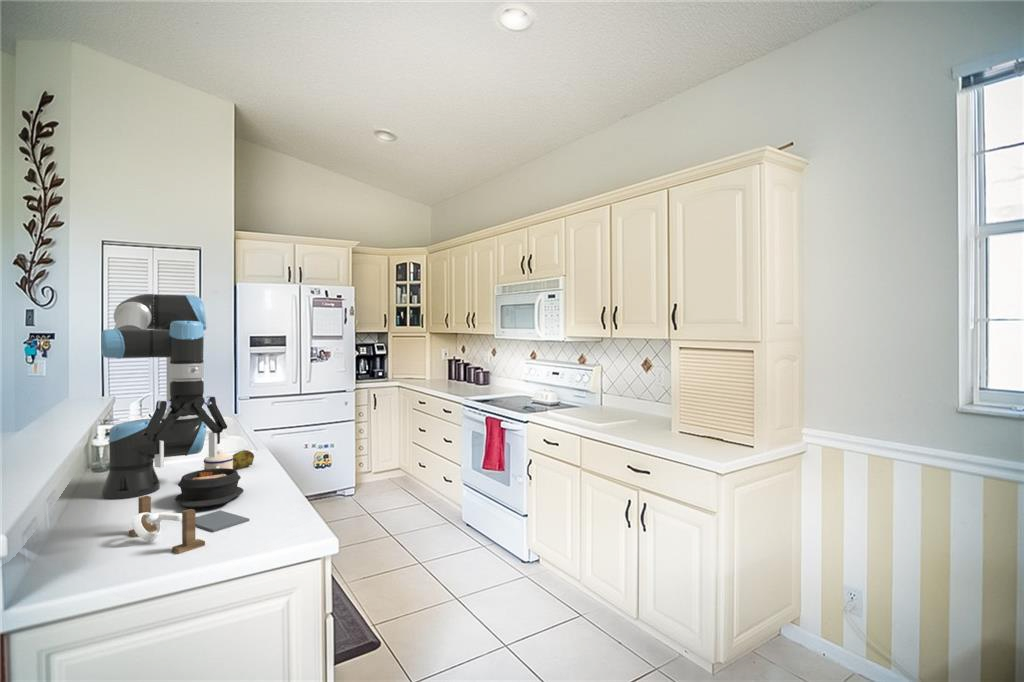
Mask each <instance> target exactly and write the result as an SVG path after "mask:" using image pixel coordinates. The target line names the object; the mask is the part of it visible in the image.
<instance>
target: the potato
mask: <svg viewBox="0 0 1024 682" xmlns="http://www.w3.org/2000/svg"><path fill="white" fill-rule="evenodd" d="M232 456H233V458H234V459H233V469H234V470H237V471H238V470H242V469H244V468H246V467H249V466H252V465H253V462H254V459H255V454H254V453H253V452H252V451H250V450H245V449H243V450H240V451H238V452H236V453H234V454H232Z"/></svg>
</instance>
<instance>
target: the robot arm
mask: <svg viewBox="0 0 1024 682" xmlns="http://www.w3.org/2000/svg"><path fill="white" fill-rule="evenodd" d="M206 317H207V316H206V311H205V306H204V302H203V300H202V298H201V297H200V296H196V295H187V294H185V295H184V294H183V295H182V294H158V293H157V294H155V293H145V294H138V295H136V296H133V297H129V298H127V299H124V300H123V301H122V302H120V303H119V304H118V305H117V306H116V308H115V309H114V312H113V321H114V322H115V324H114V328H112V329H109V328H108V329H104V330H103V331H101V336H100V345H101V346H100V348H101V349H100V351H101V355H102V357H104V358H107V359H109V358H110V359H142V358H143V359H144V358H145V359H146V358H166V400H157V401H156V404H155V411H154V412H153V414H152V417H151V418H144V419H143V418H142V419H141V418H140V419H136V420H129V421H124V422H121V423H118V424H114V425H113V426H112V427H111V428H110V429H109V436H108V443H109V446H108V447H109V450H108V451H109V454H108V455H109V456H108V457H109V458H108V459H109V460H108V461H109V462H108V464H109V465H108V468H109V469H108V475H107V477H106V479H105V483H104V485H103V487H102V491H101V493H102V495H101V496H102V498H103V499H105V500H111V501H113V500H114V501H115V500H116V501H117V500H118V501H119V500H128V499H129V500H130V499H134V498H135V499H136V498H139V497H144V496H149V495H152V494H154V493H155V492H157V491H159V490H160V488H161V486H160V485H161V484H160V483H161V482H160V480H159V478H158V475H157V473H156V470H155V468H159V469H161V468H165V463H164V462H165V461H164V460H165V458H170V457H181V456H182V457H183V456H185V457H187V456H190V455H197V454H200V453H201V452H202V451H203V449H204V445H205V440H206V433H207V428H208V429H210V432H208V457H214V458H215V457H217V450H218V445H219V444H220V443H221V433H223V431H224V430H226V429H228V425H227V423H226V421H225V419H224V417H223V415H222V413H221V412H220V409H219V407H218V406H217V401H216V397H215V396H210V395H209V396H206V397H204V393H205V389H204V388H205V386H204V381H203V380H202V379H204V343H205V342H204V336H205V333H204V331H206V330H207V318H206ZM204 405H205V406H206V407H207V409H208V411H209V413H210V415H211V417H212V418H211V417H210V416H209V415H208V414H207V412H206V410H205V409H204V408H203V406H204Z"/></svg>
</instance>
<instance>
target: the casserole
mask: <svg viewBox="0 0 1024 682" xmlns="http://www.w3.org/2000/svg"><path fill="white" fill-rule="evenodd" d="M241 479H242V478H241V476H240V474H239V473H238V470H234V469H228V468H216V469H206V470H204V469H201V470H195V471H191V472H188V473H186V474H184V475H183V476H181V478H180V481H179V482H178V483H177V486H178V487H179V489H180V491H181V493H180V494H178V495H177V496H175V497H174V501H175V502H176V503H179V504H181V506H183V507H185V508H203V507H210V506H211V507H212V506H218V505H223V504H226V503H228V502H230V501H232V500H233V499H234V498H236V497H238V496H240V495H242V494H243V493H244V491H245V490H244V488H242V487H241V486H238V485H239V481H240V480H241Z"/></svg>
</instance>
